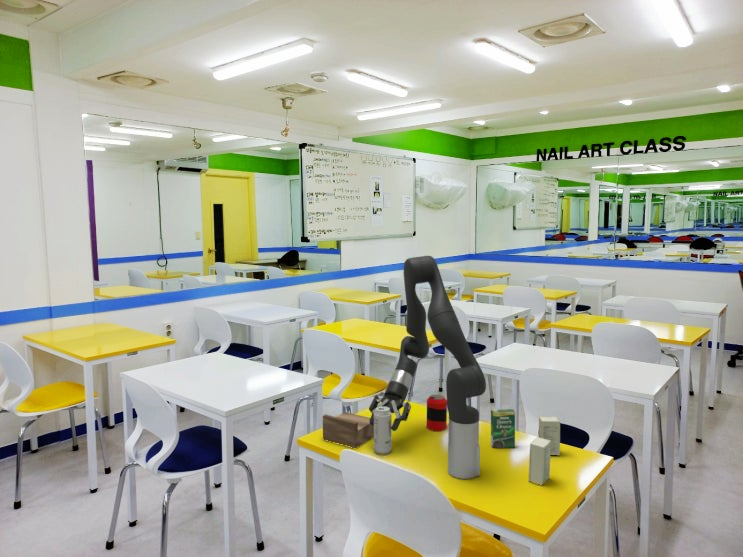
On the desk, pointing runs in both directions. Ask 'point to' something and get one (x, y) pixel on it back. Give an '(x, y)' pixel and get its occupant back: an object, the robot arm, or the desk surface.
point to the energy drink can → (382, 430)
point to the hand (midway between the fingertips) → (382, 427)
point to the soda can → (436, 413)
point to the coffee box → (503, 428)
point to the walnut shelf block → (347, 429)
